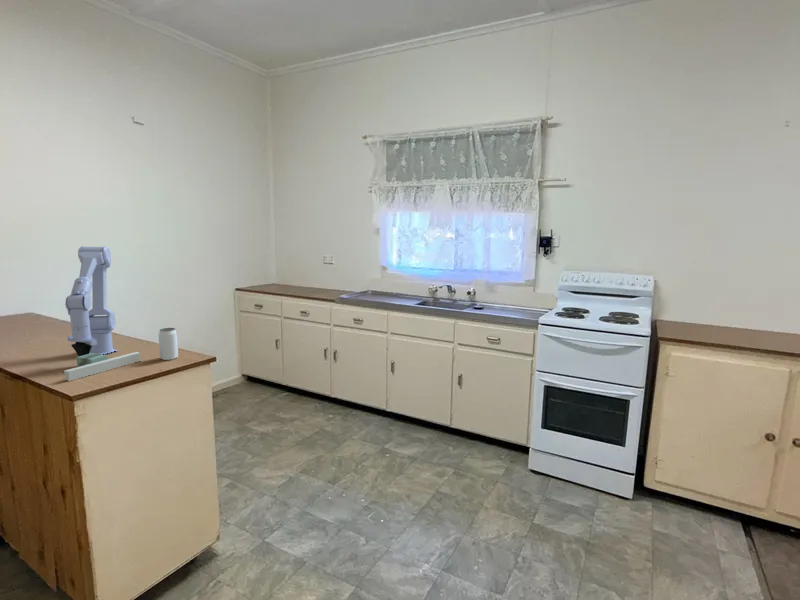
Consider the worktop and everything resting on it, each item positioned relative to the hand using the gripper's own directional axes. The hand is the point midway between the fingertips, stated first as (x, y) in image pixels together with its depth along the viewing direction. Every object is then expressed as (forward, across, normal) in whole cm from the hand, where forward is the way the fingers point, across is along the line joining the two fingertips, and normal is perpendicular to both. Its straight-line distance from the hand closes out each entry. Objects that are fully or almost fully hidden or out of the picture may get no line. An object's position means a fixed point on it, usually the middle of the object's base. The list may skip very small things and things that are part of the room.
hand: (84, 361), depth 169 cm
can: (+2, +20, +21) cm, 29 cm away
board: (+2, +12, 0) cm, 13 cm away
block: (+2, +6, 0) cm, 6 cm away
